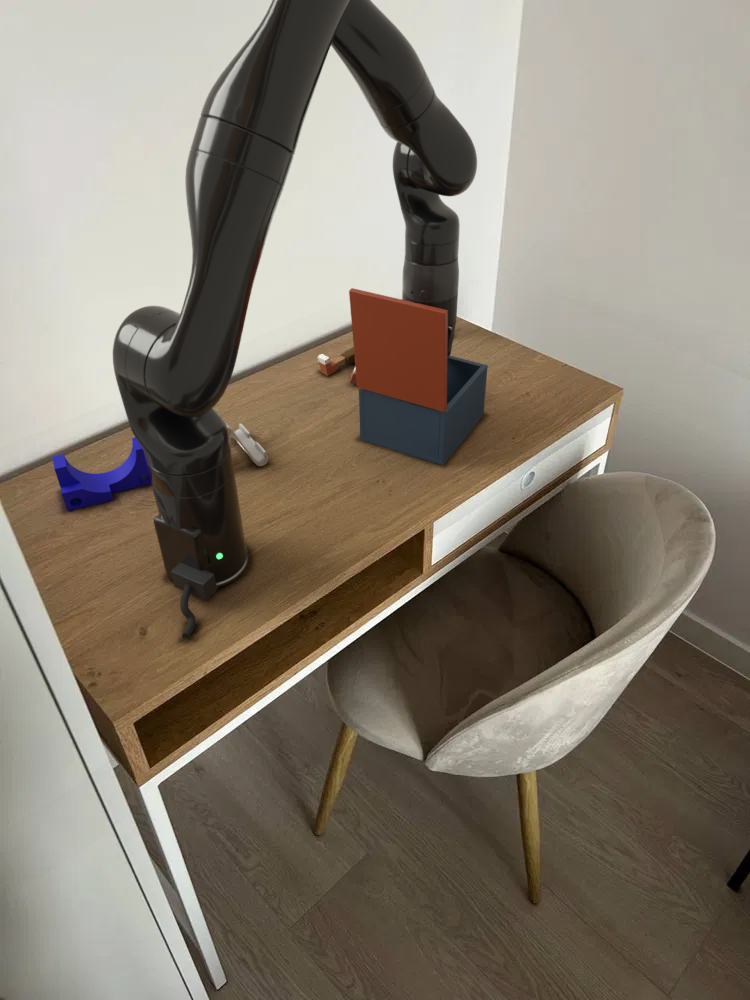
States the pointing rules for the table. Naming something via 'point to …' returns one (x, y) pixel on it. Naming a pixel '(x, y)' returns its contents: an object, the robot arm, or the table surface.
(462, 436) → the sorter box
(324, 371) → the character figurine
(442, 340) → the lid
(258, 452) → the tablet stand
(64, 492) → the blue cradle bracket
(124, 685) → the table surface
